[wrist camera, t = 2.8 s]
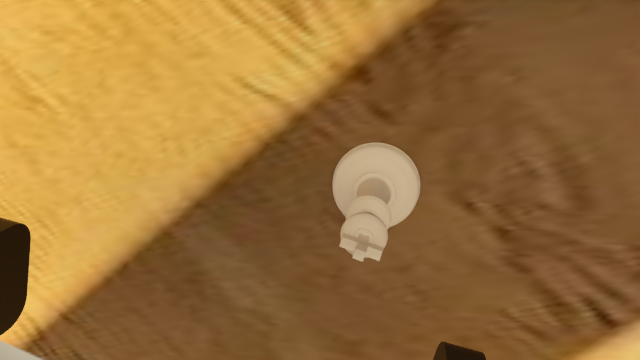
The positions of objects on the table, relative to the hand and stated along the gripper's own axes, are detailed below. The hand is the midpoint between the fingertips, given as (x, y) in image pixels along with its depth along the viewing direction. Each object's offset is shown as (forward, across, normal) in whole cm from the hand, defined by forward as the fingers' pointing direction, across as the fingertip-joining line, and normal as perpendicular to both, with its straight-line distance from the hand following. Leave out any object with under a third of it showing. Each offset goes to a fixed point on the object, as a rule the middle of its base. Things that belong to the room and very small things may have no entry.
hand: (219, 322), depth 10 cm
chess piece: (+21, -3, +2) cm, 21 cm away
